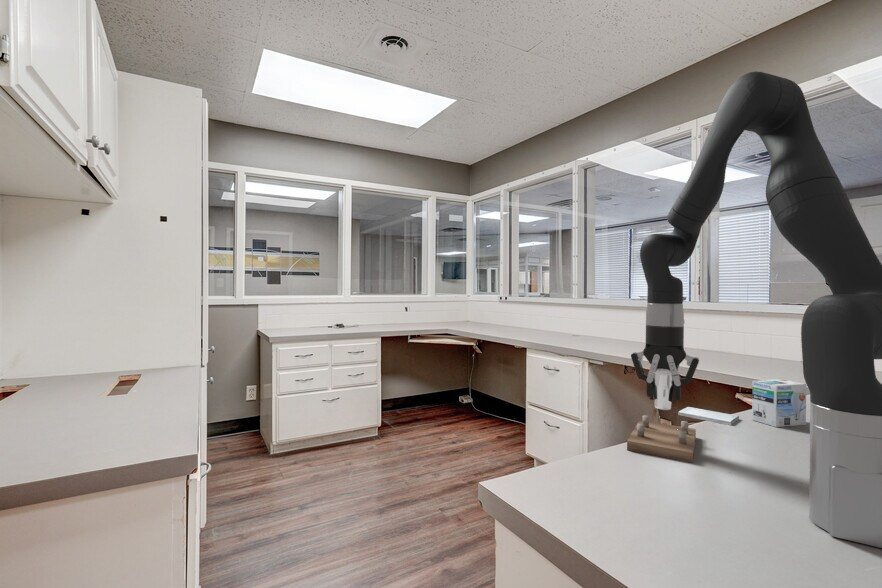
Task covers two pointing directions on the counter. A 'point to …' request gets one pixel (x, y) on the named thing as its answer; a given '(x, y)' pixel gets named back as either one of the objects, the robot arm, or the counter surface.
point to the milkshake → (663, 388)
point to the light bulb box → (779, 402)
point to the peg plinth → (663, 440)
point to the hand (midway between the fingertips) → (663, 400)
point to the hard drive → (709, 415)
